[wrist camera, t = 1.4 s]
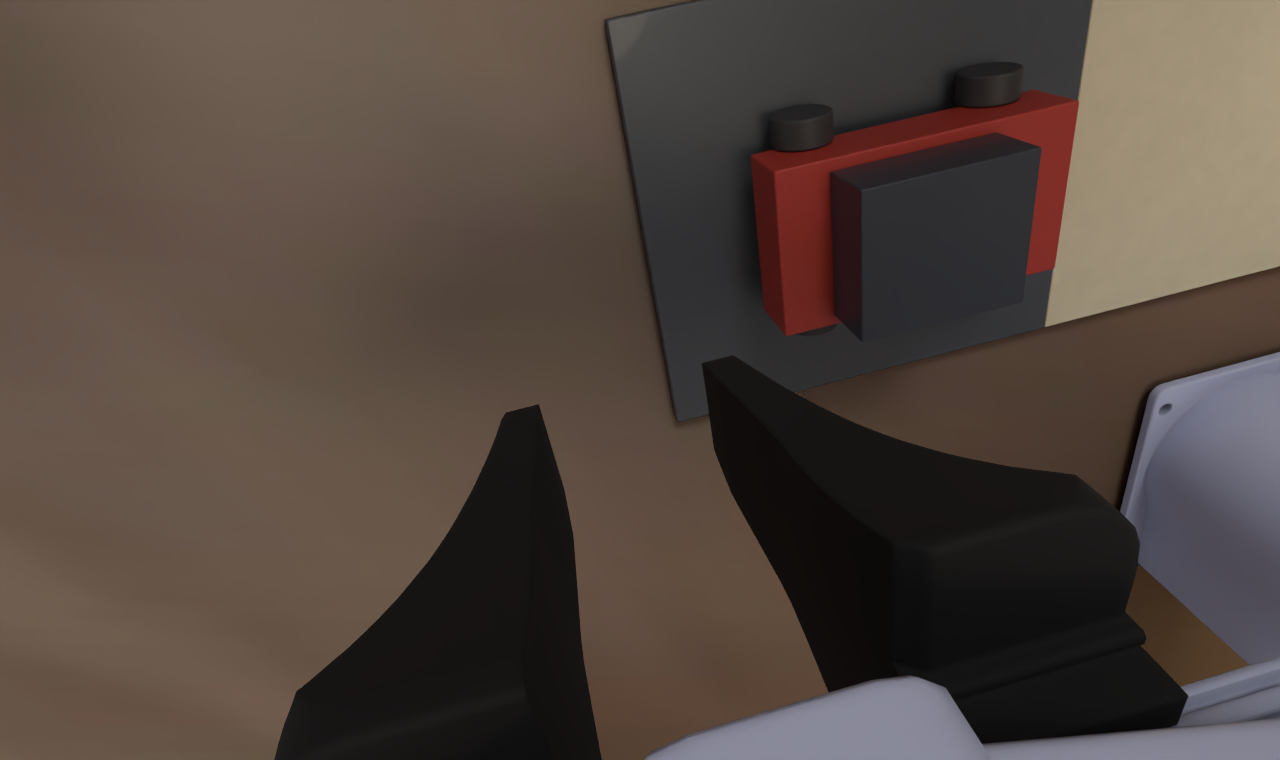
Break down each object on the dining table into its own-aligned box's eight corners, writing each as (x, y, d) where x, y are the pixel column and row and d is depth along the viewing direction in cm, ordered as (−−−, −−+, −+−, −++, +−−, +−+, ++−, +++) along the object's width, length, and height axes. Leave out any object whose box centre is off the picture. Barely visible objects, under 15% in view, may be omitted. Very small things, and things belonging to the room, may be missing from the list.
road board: (1321, 249, 26) (1333, 252, 25) (674, 416, 24) (677, 423, 23) (1470, -166, 19) (1487, -168, 19) (604, 19, 17) (606, 20, 17)
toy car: (998, 263, 23) (1094, 319, 19) (757, 323, 22) (811, 393, 19) (1019, 53, 20) (1140, 74, 16) (738, 117, 19) (799, 154, 15)
